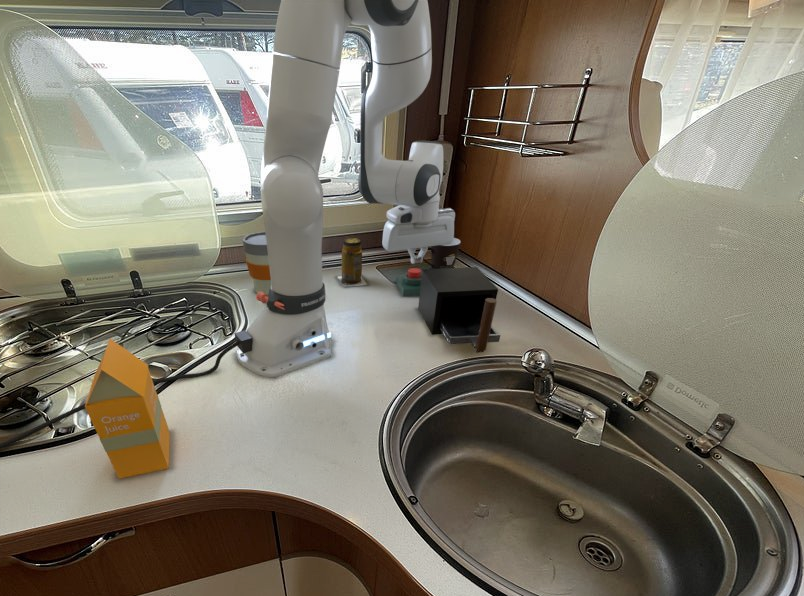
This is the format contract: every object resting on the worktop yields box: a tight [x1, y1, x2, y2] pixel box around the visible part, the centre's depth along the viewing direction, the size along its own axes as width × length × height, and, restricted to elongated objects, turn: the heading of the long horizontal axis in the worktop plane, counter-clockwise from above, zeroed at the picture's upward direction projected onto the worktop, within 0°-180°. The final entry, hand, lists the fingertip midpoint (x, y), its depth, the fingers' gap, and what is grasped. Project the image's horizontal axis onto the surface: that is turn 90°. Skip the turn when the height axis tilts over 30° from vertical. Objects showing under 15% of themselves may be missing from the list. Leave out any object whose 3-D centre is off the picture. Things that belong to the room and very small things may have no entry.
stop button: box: [407, 267, 422, 279], centre depth 120 cm, size 4×4×2 cm
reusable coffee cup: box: [242, 231, 271, 295], centre depth 120 cm, size 13×13×15 cm
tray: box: [438, 298, 501, 354], centre depth 93 cm, size 16×11×12 cm
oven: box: [417, 266, 499, 336], centre depth 104 cm, size 14×14×11 cm
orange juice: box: [85, 337, 171, 480], centre depth 64 cm, size 8×9×20 cm
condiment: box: [336, 237, 368, 288], centre depth 125 cm, size 7×8×12 cm
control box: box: [395, 271, 422, 297], centre depth 122 cm, size 10×8×4 cm
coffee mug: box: [423, 237, 461, 269], centre depth 130 cm, size 12×9×10 cm
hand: (416, 262), depth 119 cm, fingers closed
